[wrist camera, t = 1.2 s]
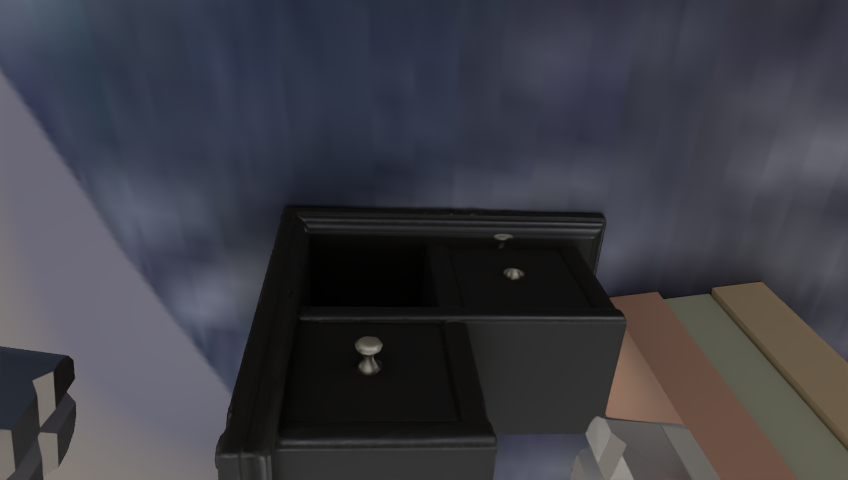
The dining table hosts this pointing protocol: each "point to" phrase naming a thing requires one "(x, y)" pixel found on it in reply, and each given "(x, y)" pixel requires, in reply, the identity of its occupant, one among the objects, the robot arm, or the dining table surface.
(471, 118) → the dining table surface
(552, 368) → the black drawer cabinet
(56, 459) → the robot arm
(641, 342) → the book row
